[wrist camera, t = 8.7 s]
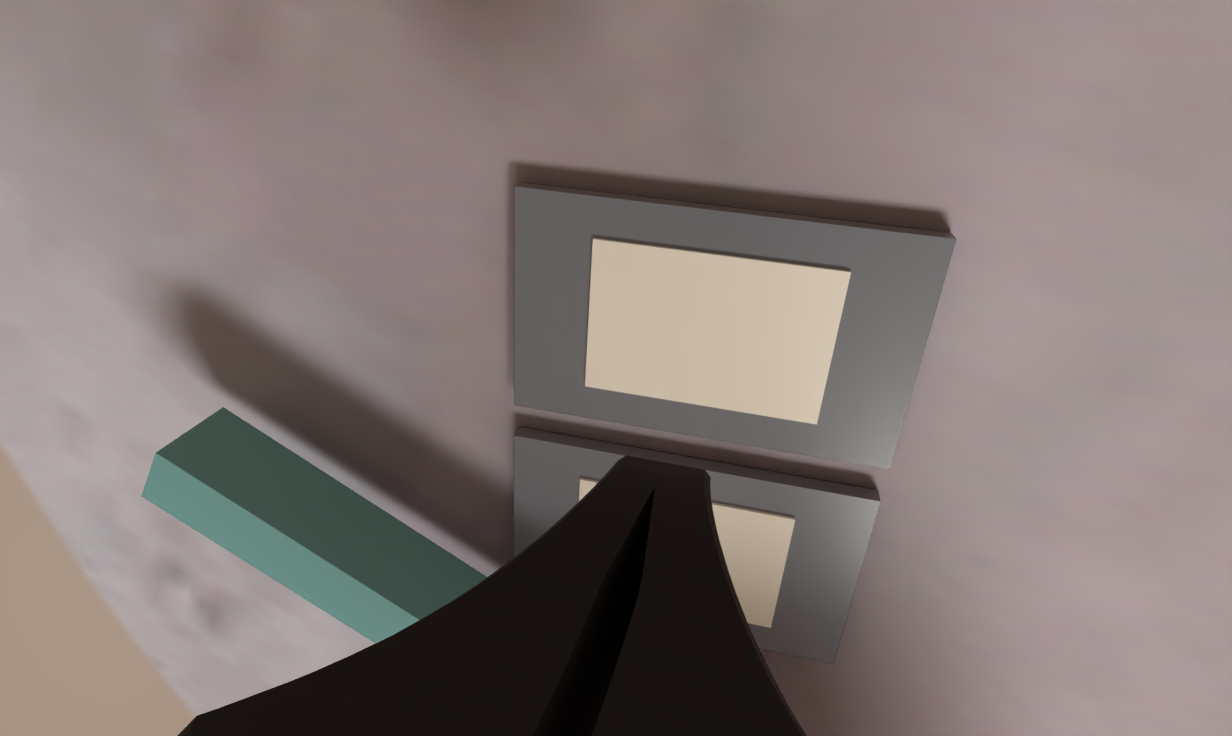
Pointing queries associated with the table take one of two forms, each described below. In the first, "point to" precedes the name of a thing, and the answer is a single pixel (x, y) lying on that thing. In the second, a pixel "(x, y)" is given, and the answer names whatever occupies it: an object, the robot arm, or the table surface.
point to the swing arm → (304, 527)
